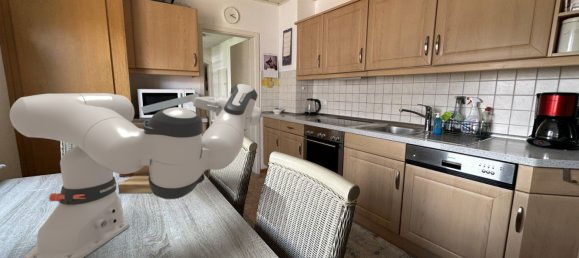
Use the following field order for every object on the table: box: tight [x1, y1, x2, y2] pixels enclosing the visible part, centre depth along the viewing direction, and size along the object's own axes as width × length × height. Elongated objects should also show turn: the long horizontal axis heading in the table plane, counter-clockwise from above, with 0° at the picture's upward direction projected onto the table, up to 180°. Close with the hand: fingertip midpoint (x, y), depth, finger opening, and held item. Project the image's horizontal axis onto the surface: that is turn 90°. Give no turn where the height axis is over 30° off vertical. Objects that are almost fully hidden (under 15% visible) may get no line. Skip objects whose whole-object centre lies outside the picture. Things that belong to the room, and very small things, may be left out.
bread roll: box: [118, 172, 134, 178], centre depth 119 cm, size 10×10×8 cm
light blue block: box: [141, 93, 200, 114], centre depth 102 cm, size 4×22×2 cm, turn 94°
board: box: [117, 176, 153, 194], centre depth 102 cm, size 10×24×4 cm, turn 92°
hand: (189, 97), depth 102 cm, fingers closed on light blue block, 4 cm apart
